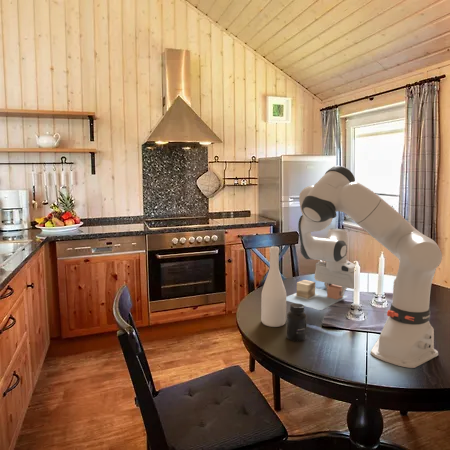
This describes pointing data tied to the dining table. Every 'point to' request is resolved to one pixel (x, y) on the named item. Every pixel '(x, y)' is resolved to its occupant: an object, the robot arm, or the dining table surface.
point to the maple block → (305, 288)
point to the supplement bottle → (296, 323)
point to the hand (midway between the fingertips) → (335, 293)
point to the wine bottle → (273, 294)
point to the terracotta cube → (334, 291)
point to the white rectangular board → (314, 300)
